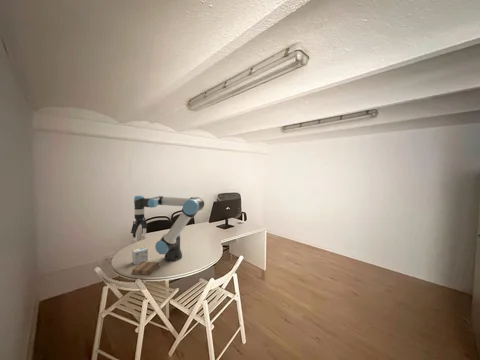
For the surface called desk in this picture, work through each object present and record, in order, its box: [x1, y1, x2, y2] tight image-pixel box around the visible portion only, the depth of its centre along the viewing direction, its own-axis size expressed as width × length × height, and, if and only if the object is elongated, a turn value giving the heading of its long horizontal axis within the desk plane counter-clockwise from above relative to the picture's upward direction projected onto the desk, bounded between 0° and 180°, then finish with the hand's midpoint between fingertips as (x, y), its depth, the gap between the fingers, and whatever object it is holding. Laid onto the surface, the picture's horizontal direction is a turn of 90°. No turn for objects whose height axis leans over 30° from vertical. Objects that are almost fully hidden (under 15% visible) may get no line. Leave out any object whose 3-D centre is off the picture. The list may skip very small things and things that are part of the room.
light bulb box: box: [131, 246, 149, 266], centre depth 170 cm, size 11×7×11 cm, turn 141°
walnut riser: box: [131, 261, 160, 276], centre depth 157 cm, size 14×14×3 cm
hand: (139, 238), depth 170 cm, fingers open, 13 cm apart
